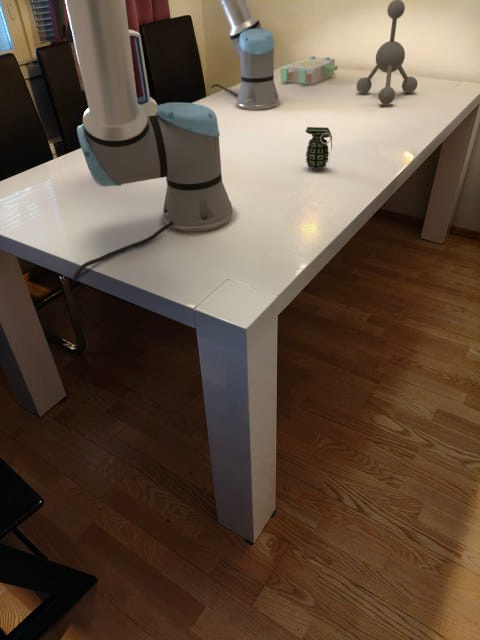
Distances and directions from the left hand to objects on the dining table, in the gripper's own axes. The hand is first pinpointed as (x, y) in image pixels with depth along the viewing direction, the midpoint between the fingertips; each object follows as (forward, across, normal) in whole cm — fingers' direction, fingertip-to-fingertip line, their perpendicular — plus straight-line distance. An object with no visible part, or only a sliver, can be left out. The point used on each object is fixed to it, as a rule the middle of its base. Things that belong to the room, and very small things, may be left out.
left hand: (98, 71), depth 114 cm
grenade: (+25, -52, -2) cm, 58 cm away
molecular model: (+25, -82, -72) cm, 112 cm away
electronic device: (+25, -1, -25) cm, 35 cm away
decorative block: (+24, -53, -105) cm, 121 cm away
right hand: (-5, -63, -85) cm, 106 cm away
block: (+3, 0, 0) cm, 3 cm away
